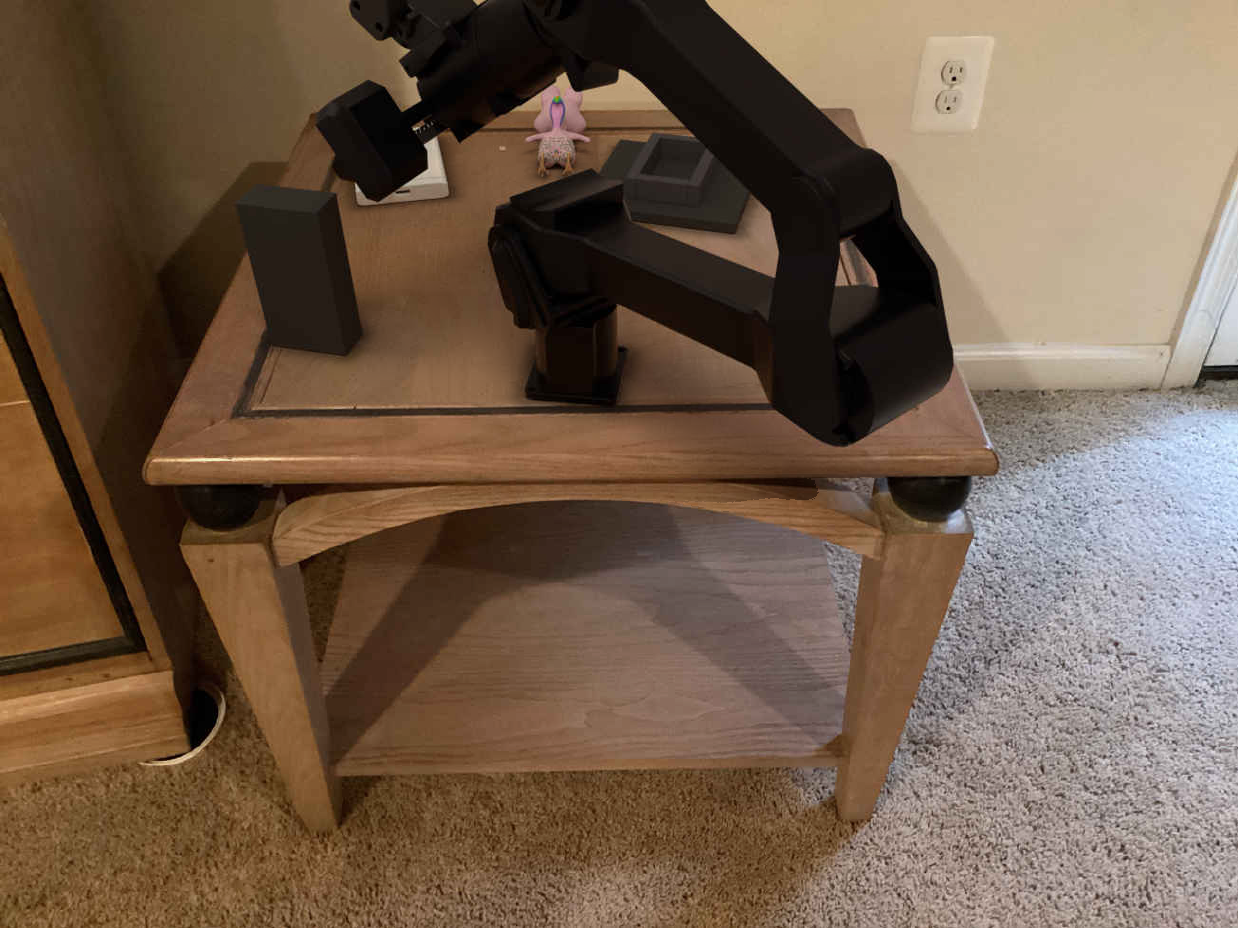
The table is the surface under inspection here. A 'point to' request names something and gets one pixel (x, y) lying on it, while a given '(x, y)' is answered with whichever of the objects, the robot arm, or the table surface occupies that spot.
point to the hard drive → (418, 181)
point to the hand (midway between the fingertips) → (381, 143)
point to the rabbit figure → (559, 128)
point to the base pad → (676, 183)
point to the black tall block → (301, 268)
